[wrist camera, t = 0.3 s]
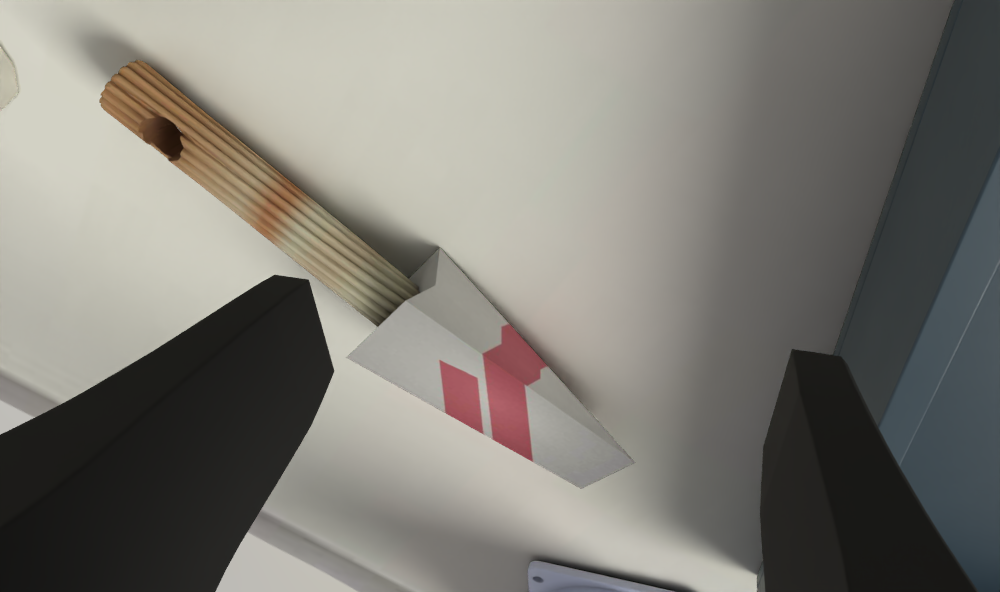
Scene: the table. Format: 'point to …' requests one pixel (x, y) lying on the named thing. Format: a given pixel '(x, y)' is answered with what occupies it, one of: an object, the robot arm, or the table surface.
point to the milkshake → (7, 80)
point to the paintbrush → (384, 294)
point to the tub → (941, 298)
